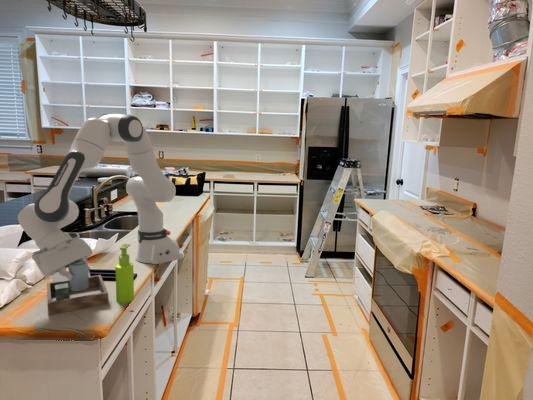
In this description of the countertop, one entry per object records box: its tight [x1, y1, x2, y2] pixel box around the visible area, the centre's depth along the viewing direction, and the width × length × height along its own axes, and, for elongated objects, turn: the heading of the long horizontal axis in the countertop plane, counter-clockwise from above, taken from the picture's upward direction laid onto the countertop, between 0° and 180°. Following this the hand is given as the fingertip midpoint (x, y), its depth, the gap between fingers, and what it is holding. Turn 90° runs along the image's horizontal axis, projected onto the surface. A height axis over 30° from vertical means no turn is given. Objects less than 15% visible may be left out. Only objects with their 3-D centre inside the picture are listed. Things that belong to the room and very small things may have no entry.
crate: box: [46, 274, 109, 316], centre depth 128 cm, size 18×18×4 cm
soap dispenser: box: [115, 243, 135, 304], centre depth 128 cm, size 6×7×20 cm
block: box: [54, 283, 70, 301], centre depth 129 cm, size 4×4×4 cm
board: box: [52, 269, 91, 282], centre depth 143 cm, size 13×9×2 cm
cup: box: [67, 260, 90, 292], centre depth 126 cm, size 6×6×9 cm
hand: (80, 274), depth 125 cm, fingers closed on cup, 6 cm apart
